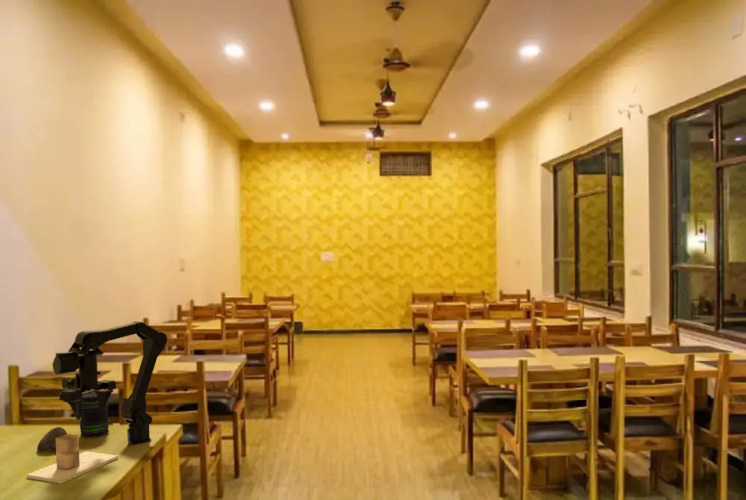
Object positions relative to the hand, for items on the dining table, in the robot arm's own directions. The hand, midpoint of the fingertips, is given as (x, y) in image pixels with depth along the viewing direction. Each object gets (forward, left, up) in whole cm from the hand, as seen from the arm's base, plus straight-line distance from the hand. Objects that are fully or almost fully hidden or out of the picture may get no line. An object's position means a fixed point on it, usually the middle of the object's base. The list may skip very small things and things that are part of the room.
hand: (89, 415), depth 206 cm
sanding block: (+9, +11, -12) cm, 19 cm away
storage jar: (-7, -25, -13) cm, 29 cm away
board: (+7, +10, -13) cm, 18 cm away
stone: (+8, -16, -13) cm, 23 cm away
